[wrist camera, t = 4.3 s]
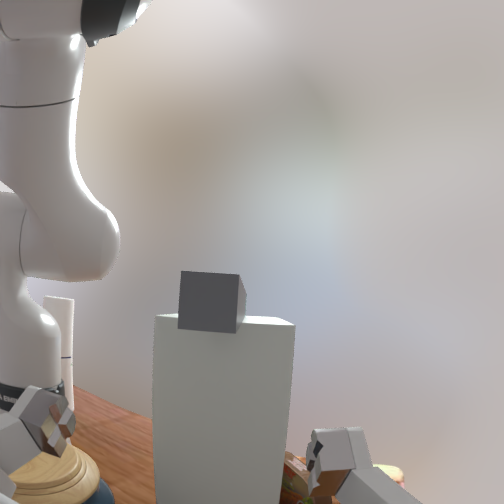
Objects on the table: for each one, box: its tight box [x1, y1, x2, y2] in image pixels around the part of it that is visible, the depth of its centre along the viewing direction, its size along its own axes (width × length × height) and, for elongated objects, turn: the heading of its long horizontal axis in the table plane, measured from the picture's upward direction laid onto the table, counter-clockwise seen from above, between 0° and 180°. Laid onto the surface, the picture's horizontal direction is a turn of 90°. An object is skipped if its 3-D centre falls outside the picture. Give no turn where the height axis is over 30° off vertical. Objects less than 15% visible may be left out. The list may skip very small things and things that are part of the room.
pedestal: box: [152, 313, 295, 504], centre depth 28 cm, size 10×16×26 cm, turn 0°
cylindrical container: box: [43, 296, 74, 411], centre depth 57 cm, size 7×7×25 cm
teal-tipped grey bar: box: [177, 271, 247, 334], centre depth 25 cm, size 2×23×2 cm, turn 0°
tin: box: [279, 451, 332, 504], centre depth 31 cm, size 15×3×8 cm, turn 20°
